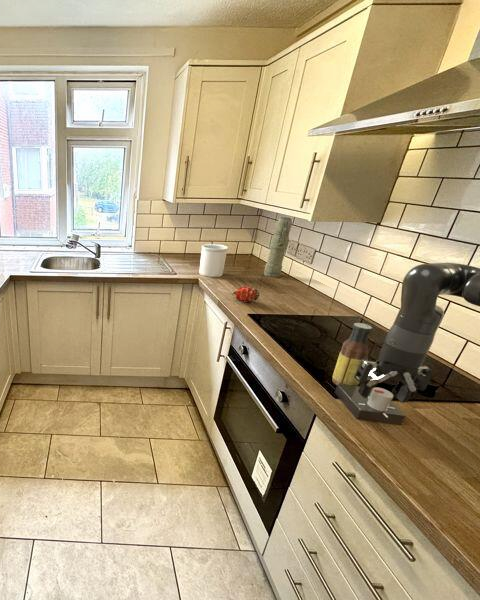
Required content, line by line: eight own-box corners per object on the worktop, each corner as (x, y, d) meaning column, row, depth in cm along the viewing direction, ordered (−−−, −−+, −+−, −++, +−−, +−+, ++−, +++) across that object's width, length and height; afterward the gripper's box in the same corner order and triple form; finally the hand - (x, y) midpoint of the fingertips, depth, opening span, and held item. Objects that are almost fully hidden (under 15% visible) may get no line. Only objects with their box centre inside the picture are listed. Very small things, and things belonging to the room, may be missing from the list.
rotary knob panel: (373, 397, 90) (377, 388, 89) (405, 429, 79) (410, 420, 78) (334, 392, 92) (337, 383, 91) (360, 423, 81) (364, 414, 80)
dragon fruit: (259, 306, 154) (232, 306, 159) (258, 292, 159) (231, 292, 163) (261, 297, 148) (233, 297, 152) (260, 282, 152) (232, 282, 156)
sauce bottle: (359, 386, 95) (384, 327, 87) (352, 393, 92) (376, 333, 84) (334, 375, 100) (355, 319, 92) (326, 382, 97) (347, 324, 89)
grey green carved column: (266, 277, 191) (280, 219, 178) (261, 272, 202) (274, 216, 189) (282, 278, 189) (298, 219, 176) (276, 273, 200) (290, 216, 187)
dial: (381, 402, 84) (388, 387, 82) (390, 412, 80) (397, 397, 78) (363, 399, 85) (369, 385, 83) (371, 409, 81) (378, 394, 79)
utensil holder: (193, 273, 198) (197, 246, 192) (204, 269, 208) (209, 242, 201) (216, 279, 188) (221, 250, 182) (227, 274, 198) (232, 246, 191)
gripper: (429, 339, 77) (403, 392, 84) (362, 333, 80) (342, 385, 86) (456, 355, 71) (425, 412, 77) (382, 348, 73) (358, 404, 80)
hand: (381, 398), depth 82 cm, fingers open, 8 cm apart
